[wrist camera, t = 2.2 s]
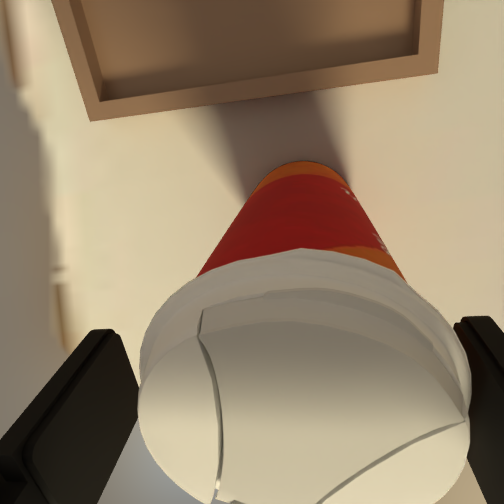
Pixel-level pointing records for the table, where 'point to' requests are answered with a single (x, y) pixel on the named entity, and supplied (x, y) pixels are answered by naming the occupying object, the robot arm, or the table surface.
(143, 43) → the tray
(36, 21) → the table surface
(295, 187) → the paper cup
